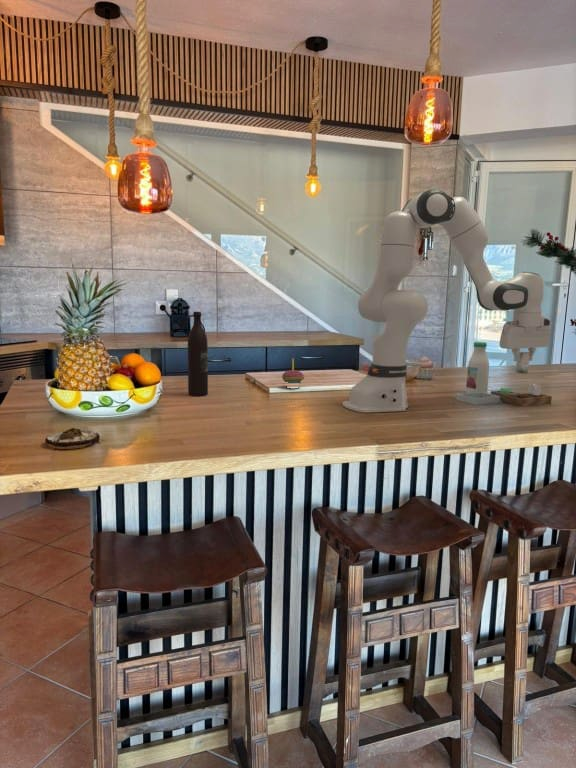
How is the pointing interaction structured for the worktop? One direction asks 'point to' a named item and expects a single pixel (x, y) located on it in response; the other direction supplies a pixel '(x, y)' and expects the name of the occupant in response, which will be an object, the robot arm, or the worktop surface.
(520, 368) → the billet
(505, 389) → the button
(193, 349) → the wine bottle
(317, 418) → the worktop surface
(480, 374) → the milk bottle
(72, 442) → the chocolate cream tart
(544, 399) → the pallet
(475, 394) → the tray
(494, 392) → the console
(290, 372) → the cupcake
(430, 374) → the cupcake
